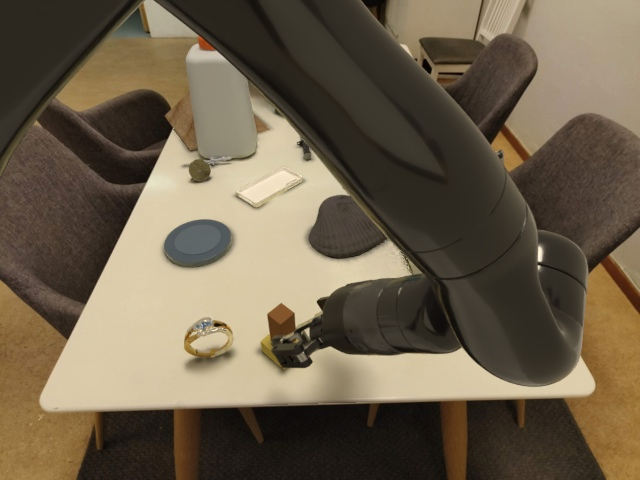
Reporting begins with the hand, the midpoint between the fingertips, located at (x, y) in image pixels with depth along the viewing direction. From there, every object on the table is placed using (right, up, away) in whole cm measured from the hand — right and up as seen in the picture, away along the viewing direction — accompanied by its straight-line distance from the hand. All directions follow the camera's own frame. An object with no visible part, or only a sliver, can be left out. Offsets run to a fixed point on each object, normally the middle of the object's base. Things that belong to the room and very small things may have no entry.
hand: (299, 324), depth 55 cm
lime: (-26, +26, +45) cm, 58 cm away
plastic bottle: (-22, +37, +57) cm, 71 cm away
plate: (-22, +11, +27) cm, 36 cm away
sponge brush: (-3, -6, +9) cm, 11 cm away
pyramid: (-28, +46, +67) cm, 86 cm away
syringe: (-26, +30, +49) cm, 63 cm away
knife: (-1, +38, +58) cm, 70 cm away
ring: (-14, -6, +8) cm, 17 cm away
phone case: (-4, +28, +45) cm, 53 cm away
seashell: (+9, +13, +31) cm, 35 cm away
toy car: (+41, +25, +37) cm, 61 cm away
